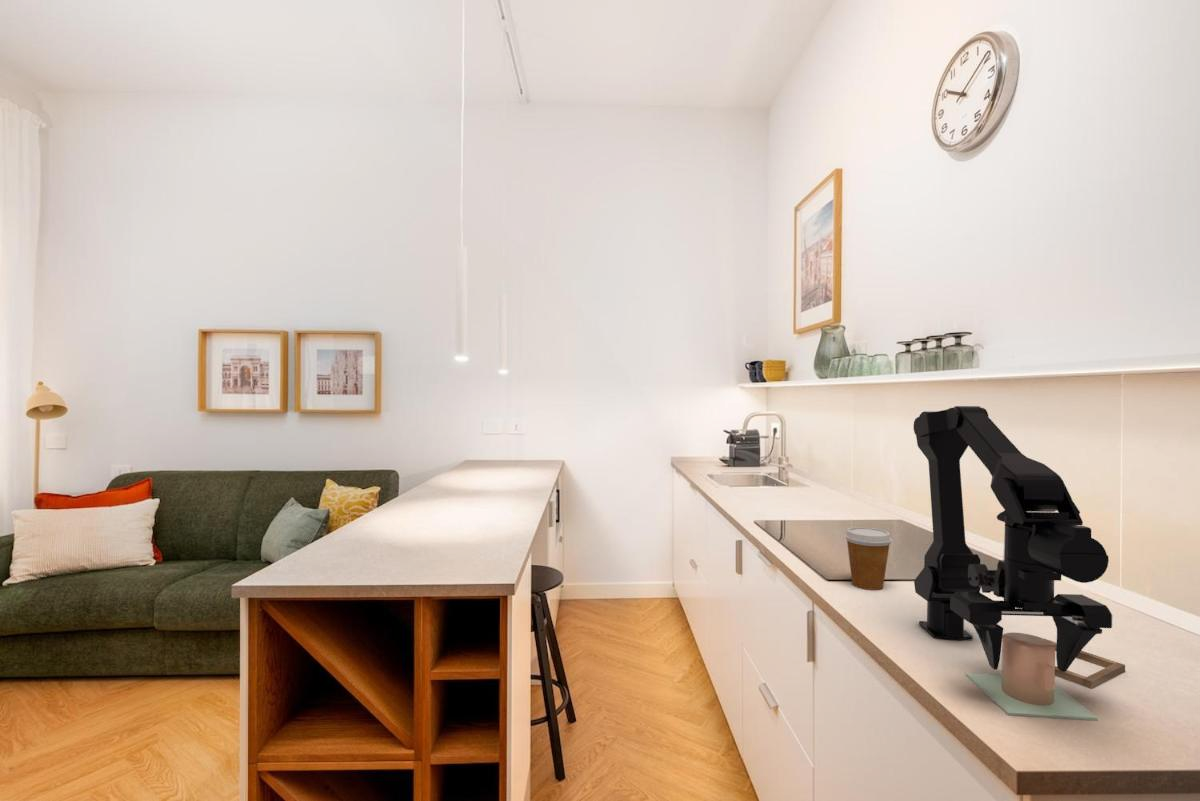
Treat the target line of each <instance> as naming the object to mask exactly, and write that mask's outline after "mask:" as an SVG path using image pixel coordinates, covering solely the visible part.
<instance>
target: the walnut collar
mask: <svg viewBox="0 0 1200 801" xmlns="http://www.w3.org/2000/svg"><path fill="white" fill-rule="evenodd" d="M1042 638H1043V639H1046V640H1048V641H1050V642H1051V643H1053V644H1054V645H1055V651H1056V649H1057V641H1056V642H1055V641H1052V640H1050V639H1047V638H1044V637H1042ZM1076 659H1080V660H1082V661H1085V662H1089V663H1092V664H1095V665H1098V666H1100V667H1103V668H1102V669H1099V670H1098V671H1097V672H1095V673H1092V674H1090V675H1088V676H1085V675H1082V674H1079V673H1076V672H1074V671H1071V670H1068V669H1067V670H1066V672H1062V671H1061V670H1059V669H1058V667H1057V665H1055V677H1058V678H1062V679H1065V680H1068V681H1070V682H1072V683H1075V684H1079V685H1081V686H1083V687H1086V688H1090V689H1094V688H1095V687H1098V686H1100V685H1101V684H1103V683H1106V682H1107V681H1110V680H1112V679H1113V678H1115V677H1116V676H1119V675H1120V674H1123V673H1124V672H1126V664H1124V663H1121V662H1119V661H1114V660H1112V659H1109V658H1105V657H1104V656H1103V657H1102V656H1099V655H1097V654H1093V653H1089V652H1087V651H1084V650H1081V651H1080V653H1079V654H1078V655H1077V657H1076Z"/></svg>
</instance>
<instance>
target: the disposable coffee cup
mask: <svg viewBox="0 0 1200 801" xmlns="http://www.w3.org/2000/svg"><path fill="white" fill-rule="evenodd" d="M890 535H891V534H890V532H888V531H887V530H884V529H880V528H873V527H867V526H866V527H862V526H860V527H859V526H858V527H857V526H856V527H849V528H847V529H846V532H845V534H844V537H845V540H846V542H847V550H848V553H847V554H848V559H849V567H850V576H851V584H852V585H853V586H855V587H856V586H857V587H856V588H859V587H860V589H863V588H864V589H863V590H868V589H871V590H872V591H877V590H878V589H879V590H881V589H884V583H885V577H886V570H887V563H888V557H889V550H890V545H891V542H892V541H893V539H892V538H891V536H890ZM873 589H874V590H873ZM871 590H870V591H871Z"/></svg>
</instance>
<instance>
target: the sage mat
mask: <svg viewBox="0 0 1200 801" xmlns="http://www.w3.org/2000/svg"><path fill="white" fill-rule="evenodd" d="M965 676H966V677H967V678H968V679H969V680H970V681H971V682H973V683H974V685H976V686H977V687H978V689H980V690H981V691H982V692H983V693H984V694H985V695H986V696H987V697H989V699H990V700H992V702H994V703H995V704H996V705H997V706H998V707H999V708H1000V709H1001V710H1002V711H1004V712H1005V713H1006V715H1008V716H1018V717H1019V716H1020V717H1037V718H1052V719H1057V718H1058V719H1067V720H1068V719H1069V720H1070V719H1071V720H1086V721H1089V720H1090V721H1099V718H1098V717H1097V716H1096V715H1095V714H1093V713H1092V712H1091V711H1089V710H1088V709H1087V708H1086V707H1084V706H1083V705H1082V704H1080V703H1079V702H1078V701H1077V700H1075V699H1073V698H1072V697H1071V696H1070V695H1068V694H1067V693H1066V692H1064V691H1063V690H1062V689H1060V687H1058V686H1056V685H1055V687H1054V703H1053V704H1051V705H1034V704H1029V703H1025V702H1022V701H1019V700H1017V699H1014V698H1012V697H1010V696H1009V695H1007V694H1006V693H1005V692H1004V691H1003V690H1002V674H985V673H969V672H968V673H967V672H966V673H965Z"/></svg>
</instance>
